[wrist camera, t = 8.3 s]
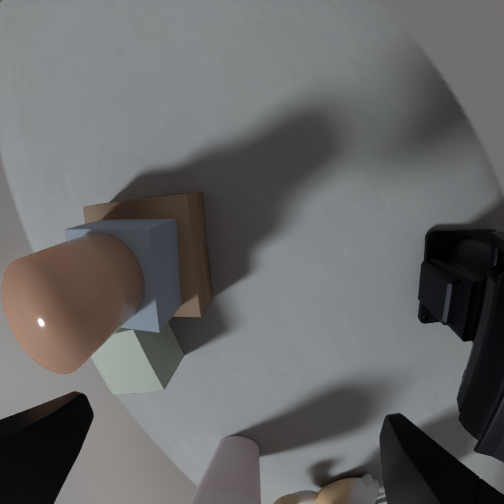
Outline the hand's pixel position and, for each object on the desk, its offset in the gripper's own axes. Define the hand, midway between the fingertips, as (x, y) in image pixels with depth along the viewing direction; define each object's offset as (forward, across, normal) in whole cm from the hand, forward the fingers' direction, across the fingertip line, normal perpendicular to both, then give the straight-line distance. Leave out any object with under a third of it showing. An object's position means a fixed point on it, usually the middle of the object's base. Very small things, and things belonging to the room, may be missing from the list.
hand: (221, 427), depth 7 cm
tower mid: (+10, +7, -2) cm, 12 cm away
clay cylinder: (+6, +7, -2) cm, 10 cm away
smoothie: (+13, +3, +16) cm, 21 cm away
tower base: (+13, +7, -2) cm, 15 cm away
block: (+13, +9, +4) cm, 16 cm away
